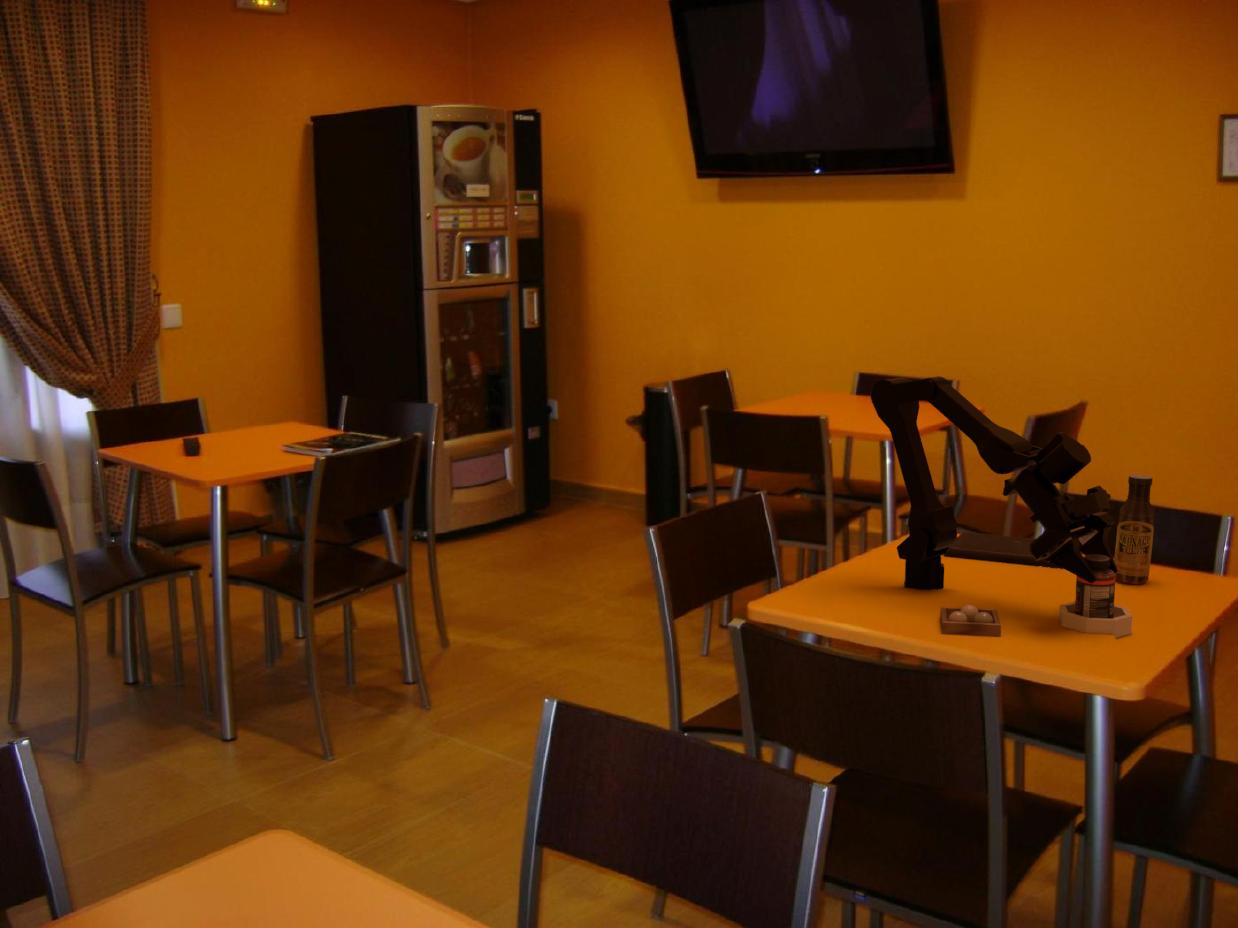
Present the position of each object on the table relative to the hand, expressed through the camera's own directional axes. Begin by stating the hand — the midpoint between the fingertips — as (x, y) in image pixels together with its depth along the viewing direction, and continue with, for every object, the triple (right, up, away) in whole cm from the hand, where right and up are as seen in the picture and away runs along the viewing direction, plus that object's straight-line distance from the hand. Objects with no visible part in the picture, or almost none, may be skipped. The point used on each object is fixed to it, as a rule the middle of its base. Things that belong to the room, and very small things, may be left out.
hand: (1105, 577), depth 206 cm
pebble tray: (-21, -9, +2) cm, 23 cm away
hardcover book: (+1, -1, +52) cm, 52 cm away
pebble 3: (-20, -8, 0) cm, 22 cm away
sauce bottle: (+16, -4, +30) cm, 35 cm away
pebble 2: (-21, -8, +4) cm, 23 cm away
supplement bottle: (-1, -8, +3) cm, 8 cm away
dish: (-1, -9, +2) cm, 9 cm away
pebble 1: (-24, -8, 0) cm, 25 cm away
